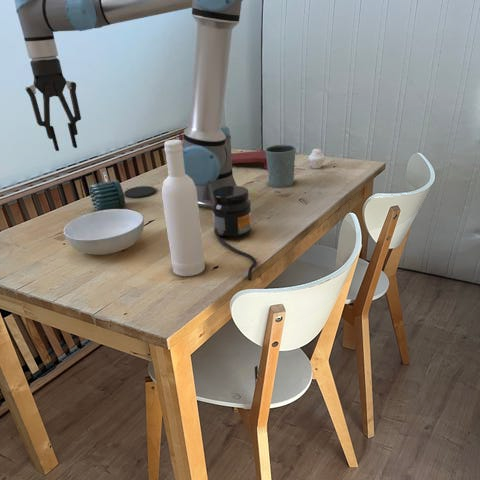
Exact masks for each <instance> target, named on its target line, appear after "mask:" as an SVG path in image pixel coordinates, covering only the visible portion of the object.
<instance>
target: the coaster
mask: <svg viewBox="0 0 480 480" xmlns="http://www.w3.org/2000/svg"><path fill="white" fill-rule="evenodd" d="M156 192H157V190H156V188H155V187H153V186H148V185H144V186H143V185H142V186H135V187H131V188H129V189H126V190H125V191H124V192H123V193H124V197H126V198H130V199H142V198H146V197H150V196H153V195H154V194H155V193H156Z"/></svg>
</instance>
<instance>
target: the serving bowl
mask: <svg viewBox="0 0 480 480" xmlns="http://www.w3.org/2000/svg"><path fill="white" fill-rule="evenodd" d="M144 227H145V218H144V216H143V214H141V213H140V212H138V211H136V210H133V209H125V208H113V209H109V210H102V211H93V212H89V213H86V214H83V215H80V216H78V217H75V218H74V219H72V220H70V221H69V222H67V224H66V225H65V226H64V227H63V231H62V232H63V235H64V237H65V239H66V241H67V242H68V244H69V245H70V246H71V247H72V248H74V249H75V250H76V251H78V252H81V253H83V254H87V255H95V256H96V255H101V256H102V255H108V254H109V255H110V254H113V253H117V252H121V251H123V250H126V249H127V248H130V247H131V246H133V245H134V244H136V243H137V241H138V240H139V239H140V237H141V236H142V234H143V231H144Z"/></svg>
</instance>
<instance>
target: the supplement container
mask: <svg viewBox="0 0 480 480" xmlns="http://www.w3.org/2000/svg"><path fill="white" fill-rule="evenodd" d="M249 193H250V192H249V189H248V188H246V187H244V186H241V185H236V186H225V187H221V188H218V189H216V190H214V191H213V200H214V202H213V203H212V209H211V210H212V218H213V230H214V231H213V233H214V234H215V236H216V237H218V236H220V237H221V239H222V240H226V241H227V240H228V241H234V240H235V241H236V240H241V239H244V238H246V237H248V236H249V235H250V234H251V233H252V231H253V227H252V208H251V207H252V203H251V200H250V199H249V198H250V197H249Z"/></svg>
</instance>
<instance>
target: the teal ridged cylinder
mask: <svg viewBox="0 0 480 480" xmlns="http://www.w3.org/2000/svg"><path fill="white" fill-rule="evenodd" d="M88 190H89V192H88V193H89V194H90V195H89V196H90V200H91V202H92V206H93V209H94V210H95V212H97V211H102V210H110V209H119V208H123V207H125V205H126V199H125V194H124V193H125V192H124V190H123V187H122V184H121V183H120V181H119V180H118V179H115V180H110V181H103V182H100V183H99V182H98V183H95V184H90V185H89V187H88Z"/></svg>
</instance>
